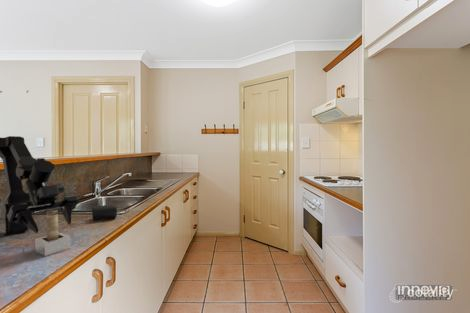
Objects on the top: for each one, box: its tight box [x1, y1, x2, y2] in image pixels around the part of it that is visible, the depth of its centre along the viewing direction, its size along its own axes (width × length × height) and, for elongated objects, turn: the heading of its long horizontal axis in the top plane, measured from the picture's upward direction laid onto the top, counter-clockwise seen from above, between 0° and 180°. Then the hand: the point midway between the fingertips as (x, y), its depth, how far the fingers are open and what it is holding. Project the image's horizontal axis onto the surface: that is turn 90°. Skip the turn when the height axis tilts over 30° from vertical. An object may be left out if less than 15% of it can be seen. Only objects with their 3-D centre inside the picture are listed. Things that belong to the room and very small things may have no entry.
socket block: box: [34, 232, 72, 257], centre depth 80 cm, size 7×7×4 cm
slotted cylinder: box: [46, 209, 59, 242], centre depth 80 cm, size 3×3×13 cm
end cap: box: [91, 203, 118, 222], centre depth 115 cm, size 10×7×7 cm
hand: (54, 227), depth 79 cm, fingers open, 9 cm apart
